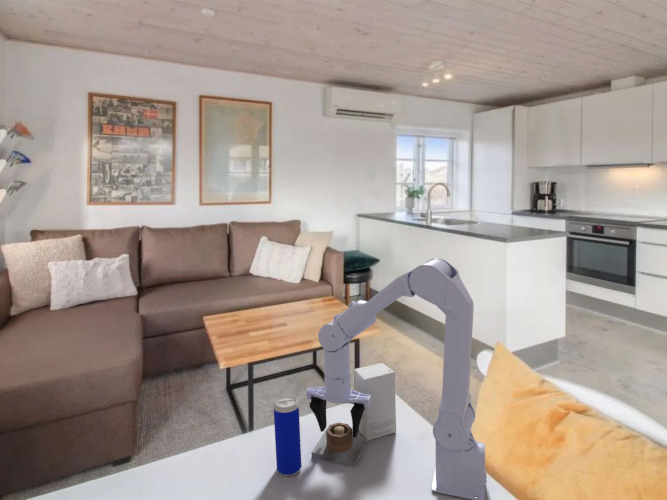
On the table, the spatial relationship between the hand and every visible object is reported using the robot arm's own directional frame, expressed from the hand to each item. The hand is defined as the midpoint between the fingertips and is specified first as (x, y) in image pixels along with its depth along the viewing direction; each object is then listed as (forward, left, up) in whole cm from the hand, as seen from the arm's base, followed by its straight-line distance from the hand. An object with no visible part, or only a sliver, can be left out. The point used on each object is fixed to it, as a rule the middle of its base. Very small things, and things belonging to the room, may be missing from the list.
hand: (339, 432), depth 90 cm
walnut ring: (0, 0, -3) cm, 3 cm away
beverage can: (+8, +10, -4) cm, 13 cm away
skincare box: (-6, -10, -4) cm, 12 cm away
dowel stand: (0, 0, -4) cm, 4 cm away
